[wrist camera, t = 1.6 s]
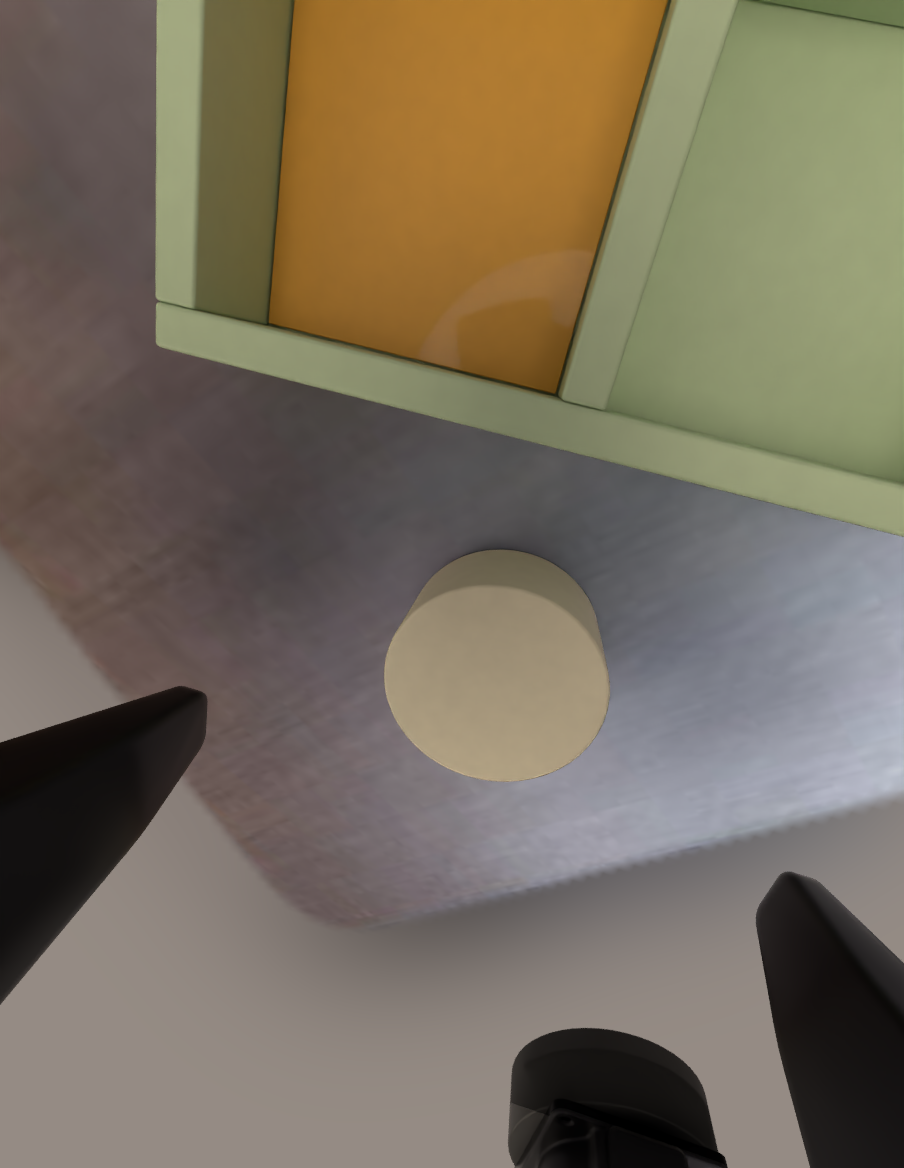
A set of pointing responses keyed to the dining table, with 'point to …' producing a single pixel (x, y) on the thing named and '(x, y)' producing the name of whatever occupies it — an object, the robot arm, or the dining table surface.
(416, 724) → the cylinder
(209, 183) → the grid
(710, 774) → the dining table surface
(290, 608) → the dining table surface
